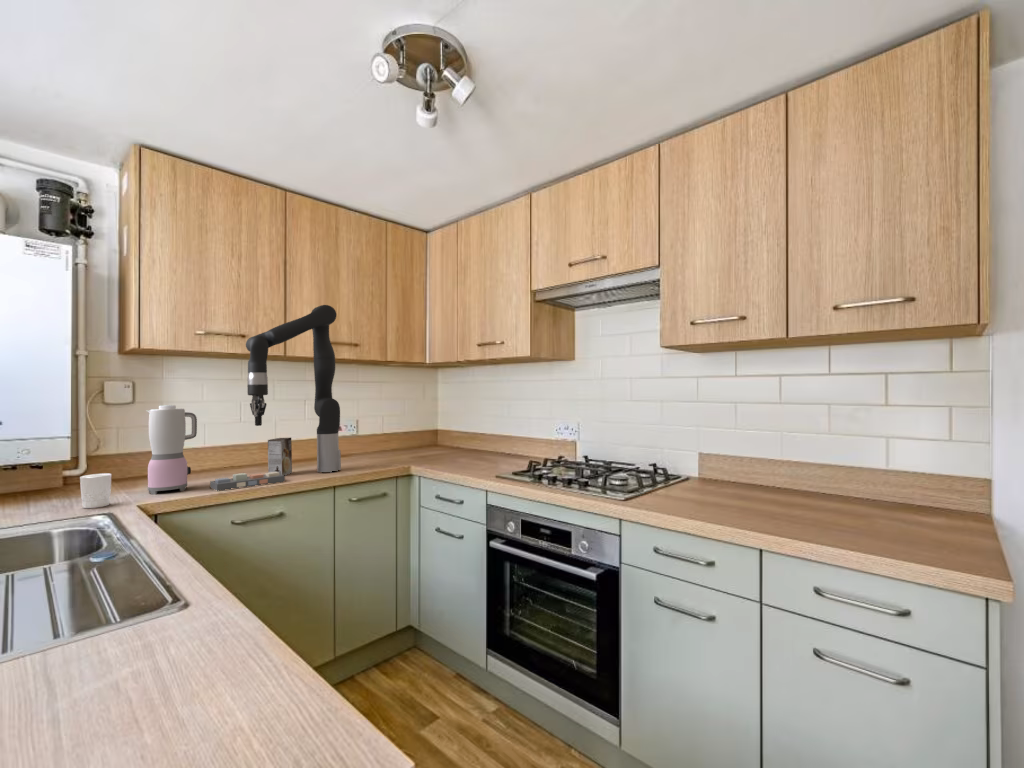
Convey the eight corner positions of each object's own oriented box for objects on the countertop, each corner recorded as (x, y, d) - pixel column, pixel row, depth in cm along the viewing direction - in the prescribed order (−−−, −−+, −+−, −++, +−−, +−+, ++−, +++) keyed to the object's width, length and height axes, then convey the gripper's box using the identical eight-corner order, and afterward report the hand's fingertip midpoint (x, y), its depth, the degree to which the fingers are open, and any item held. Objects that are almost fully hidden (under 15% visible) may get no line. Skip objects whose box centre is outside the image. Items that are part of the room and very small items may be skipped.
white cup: (79, 506, 160) (79, 475, 161) (110, 502, 166) (110, 472, 166) (81, 510, 155) (80, 478, 155) (113, 505, 160) (112, 475, 160)
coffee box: (278, 473, 220) (277, 437, 221) (292, 473, 220) (292, 437, 221) (267, 477, 211) (267, 439, 211) (282, 476, 211) (282, 439, 211)
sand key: (276, 478, 203) (275, 471, 203) (279, 480, 200) (279, 472, 200) (265, 480, 200) (265, 472, 200) (269, 481, 197) (268, 473, 197)
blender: (149, 495, 175) (148, 406, 176) (144, 491, 184) (144, 406, 185) (201, 489, 186) (200, 404, 186) (194, 485, 195) (193, 404, 195)
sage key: (244, 480, 194) (244, 473, 194) (247, 481, 191) (247, 474, 191) (232, 482, 191) (232, 474, 192) (235, 483, 189) (235, 475, 189)
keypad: (276, 479, 205) (275, 473, 205) (284, 481, 198) (284, 475, 198) (210, 487, 189) (210, 481, 189) (217, 491, 181) (217, 484, 181)
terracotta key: (260, 480, 198) (260, 473, 198) (263, 482, 196) (263, 474, 196) (249, 482, 196) (249, 474, 196) (252, 483, 193) (252, 475, 193)
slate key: (227, 485, 190) (227, 477, 190) (230, 486, 187) (229, 478, 187) (215, 486, 187) (215, 478, 187) (218, 488, 184) (218, 480, 184)
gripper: (273, 383, 202) (273, 425, 202) (261, 384, 211) (262, 424, 211) (253, 383, 196) (254, 426, 196) (242, 384, 206) (243, 425, 206)
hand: (258, 425), depth 204 cm, fingers closed
